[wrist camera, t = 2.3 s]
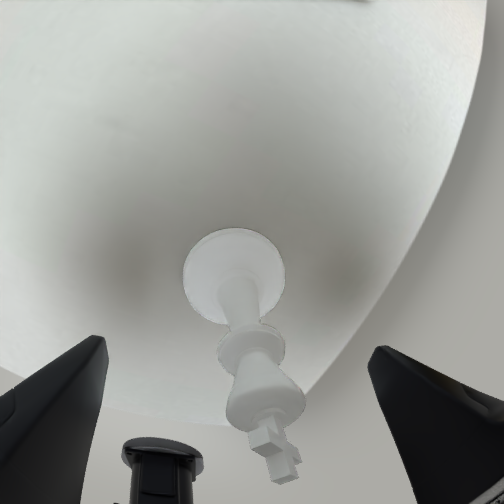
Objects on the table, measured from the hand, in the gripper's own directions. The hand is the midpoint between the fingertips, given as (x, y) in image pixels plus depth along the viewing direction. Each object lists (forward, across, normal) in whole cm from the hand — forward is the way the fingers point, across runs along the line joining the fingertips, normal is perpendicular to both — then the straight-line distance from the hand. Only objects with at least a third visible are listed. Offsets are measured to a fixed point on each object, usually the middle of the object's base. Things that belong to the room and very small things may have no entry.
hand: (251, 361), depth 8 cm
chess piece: (+6, 0, 0) cm, 6 cm away
